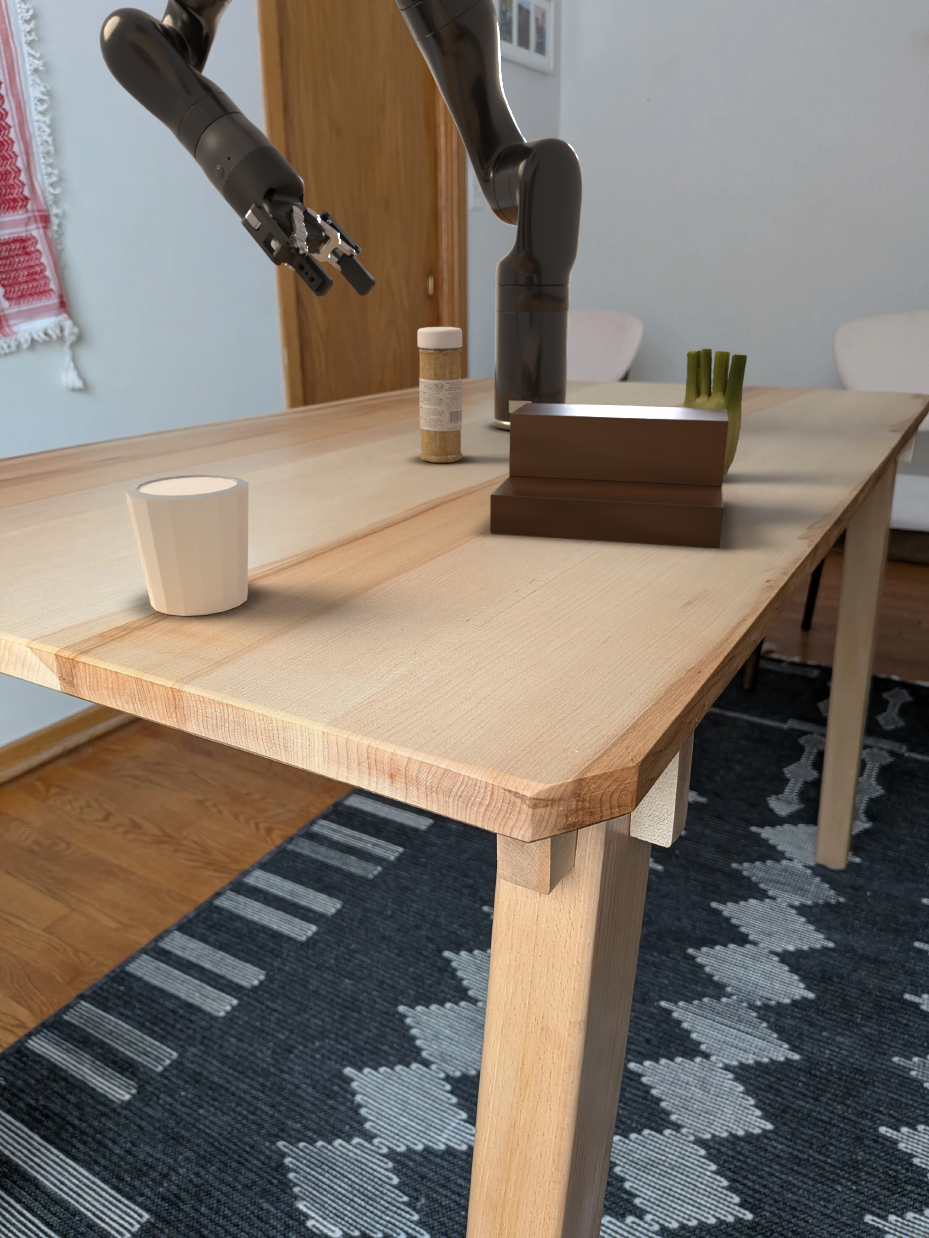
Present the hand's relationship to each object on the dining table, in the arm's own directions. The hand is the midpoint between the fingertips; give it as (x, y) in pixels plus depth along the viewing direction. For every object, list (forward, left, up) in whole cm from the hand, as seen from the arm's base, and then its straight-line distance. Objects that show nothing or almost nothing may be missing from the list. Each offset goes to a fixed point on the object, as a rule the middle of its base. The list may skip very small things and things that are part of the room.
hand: (349, 290), depth 95 cm
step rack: (+23, +30, -17) cm, 42 cm away
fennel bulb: (+5, +37, -17) cm, 41 cm away
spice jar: (+2, +10, -17) cm, 20 cm away
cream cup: (+49, +8, -17) cm, 52 cm away
